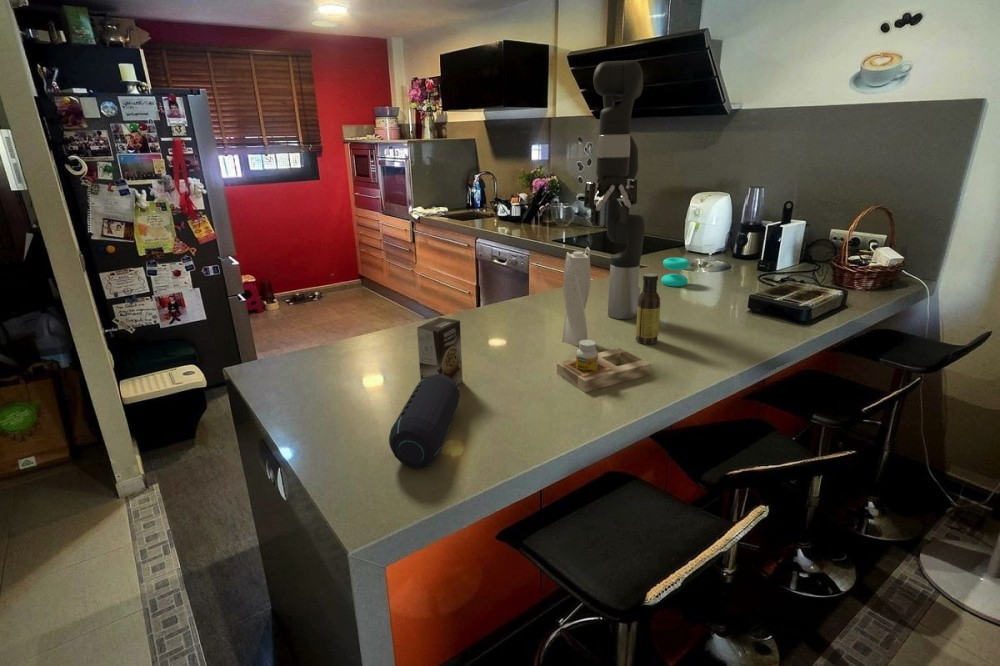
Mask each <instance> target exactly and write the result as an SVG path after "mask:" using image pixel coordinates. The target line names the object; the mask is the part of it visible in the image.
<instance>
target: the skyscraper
mask: <svg viewBox="0 0 1000 666" xmlns="http://www.w3.org/2000/svg"><path fill="white" fill-rule="evenodd" d="M587 251H588V252H587ZM587 253H588V255H587ZM590 257H591V249H590V247H588V246H587V247H586V248H585V250H584V252H583V251H573V252H572V253H570V252H568V251H567V252H566V255H565V259H564V270H563V285H562V286H563V298H564V299H563V300H564V305H565V310H566V313H565V319H564V325H563V332H562V337H561V338H562V339H561V341H562V342H564V343H565V344H566V343H567V344H570V345H572V346H573V345H574V346H577V347H579V342H580V341H582V340H589V339H588V327H587V320H586V311H585V309H586V307H587V303H588V299H589V295H590V290H591V289H590V288H591V261H590V259H591V258H590Z"/></svg>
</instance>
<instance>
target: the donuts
mask: <svg viewBox="0 0 1000 666" xmlns="http://www.w3.org/2000/svg"><path fill="white" fill-rule="evenodd" d="M690 264H691V263H690V261H689V260H688V259H687V258H684V257H683V258H682V257H667V258H665V259H664V260H663V261H662V265H663V266H664V267H665V268H666V269H667V270H671V271H683V270H686V269H688V268H689V267H690ZM660 282H661V283H662V284H663V285H665V286H668V287H674V288H675V287H676V288H679V287H684V286H686V285H687V284H688V282H689V280H688V278H687V277H686V276H685V275H683V274H680V273H679V274H678V273H668V274H665V275H663V276H662V277H661V281H660Z"/></svg>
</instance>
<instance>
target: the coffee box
mask: <svg viewBox="0 0 1000 666" xmlns="http://www.w3.org/2000/svg"><path fill="white" fill-rule="evenodd" d="M416 330H417V349H418V350H417V351H418V361H419V362H418V363H419V378H420V379H419V380H420V381H421V380H422V379H423V378H427V377H429V376H431V375H436V374H440V375H445V376H448V377H450V378H451V379H452V380H453V381H454V382H455V383H456V384H457V385H460V384H461V383H463V382H464V381H463V361H462V360H463V359H462V356H463V355H462V338H461V337H462V336H461V321H460V320H458V319H452V318H447V317H446V318H445V317H437V318H436V319H432V320H431V321H428V322H427V323H424V324H422V325H419V326H417V327H416Z"/></svg>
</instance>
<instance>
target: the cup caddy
mask: <svg viewBox="0 0 1000 666" xmlns="http://www.w3.org/2000/svg"><path fill="white" fill-rule="evenodd" d="M618 364H621V365H618ZM650 373H651V363H650V362H648V361H646V360H645V359H642V358H640V357H638V356H636V355H634V354H632V353H630V352H629V351H626V350H624V349H622V348H620V347H617V348H614V349H609V350H605V351H601V352H598V370H597V371H593V372H589V373H585V374H584V373H582V372H580V371H579V370H577V369H576V357H575V358H571V359H567V360H563V361H559V362H556V375H558V376H559V377H561V378H562V379H564V380H565V381H567V382H568V383H570V384H571V385H573V386H574V387H575V388H577V389H579V390H580V391H582V392H583V393H588V392H591V391H594V390H598V389H602V388H605V387H609V386H613V385H616V384H621V383H623V382H627V381H630V380H631V381H632V380H635V379H638V378H642V377H646V376H649V375H650Z"/></svg>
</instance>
